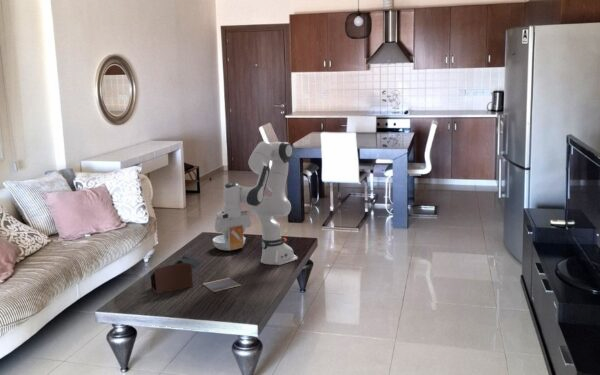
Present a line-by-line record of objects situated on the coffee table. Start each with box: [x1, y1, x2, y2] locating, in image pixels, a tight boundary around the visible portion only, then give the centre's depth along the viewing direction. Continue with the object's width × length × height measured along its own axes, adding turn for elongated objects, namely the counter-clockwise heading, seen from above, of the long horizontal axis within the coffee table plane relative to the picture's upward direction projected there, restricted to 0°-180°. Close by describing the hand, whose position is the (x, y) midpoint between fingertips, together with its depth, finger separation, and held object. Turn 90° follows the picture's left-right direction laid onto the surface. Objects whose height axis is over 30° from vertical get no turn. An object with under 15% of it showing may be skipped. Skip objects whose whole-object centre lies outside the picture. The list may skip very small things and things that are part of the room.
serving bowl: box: [212, 234, 247, 252], centre depth 376 cm, size 21×21×7 cm
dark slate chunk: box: [174, 254, 202, 273], centre depth 344 cm, size 15×22×5 cm
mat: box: [202, 277, 242, 293], centre depth 313 cm, size 16×14×1 cm
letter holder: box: [150, 263, 194, 295], centre depth 311 cm, size 10×20×14 cm, turn 119°
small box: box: [225, 224, 244, 251], centre depth 319 cm, size 8×6×13 cm
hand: (233, 237), depth 319 cm, fingers closed on small box, 8 cm apart
